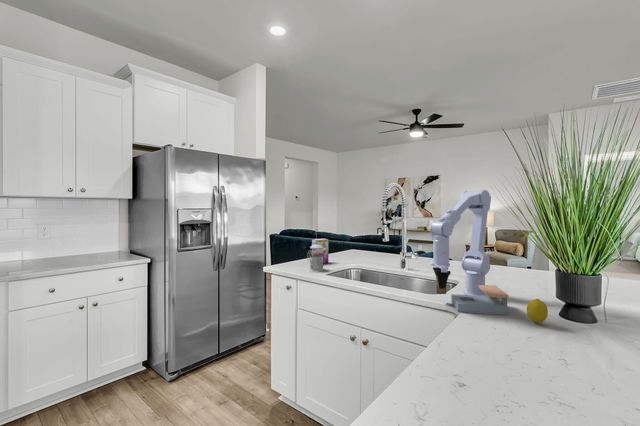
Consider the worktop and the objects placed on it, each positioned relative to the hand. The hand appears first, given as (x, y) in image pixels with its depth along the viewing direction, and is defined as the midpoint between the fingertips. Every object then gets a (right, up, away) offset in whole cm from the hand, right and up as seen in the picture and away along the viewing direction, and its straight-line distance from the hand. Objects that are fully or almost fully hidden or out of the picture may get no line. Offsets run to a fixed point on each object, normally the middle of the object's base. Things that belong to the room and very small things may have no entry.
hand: (441, 287), depth 121 cm
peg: (0, -2, 0) cm, 2 cm away
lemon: (+22, -6, -22) cm, 32 cm away
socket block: (+11, -6, -7) cm, 14 cm away
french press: (-50, -6, +66) cm, 83 cm away
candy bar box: (-47, -5, +87) cm, 99 cm away
